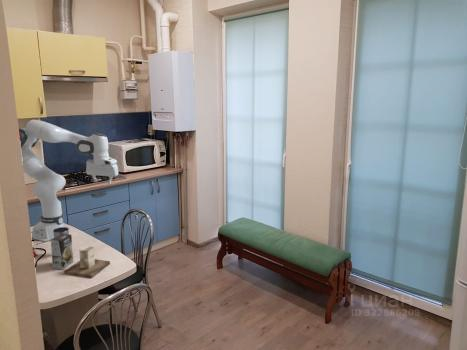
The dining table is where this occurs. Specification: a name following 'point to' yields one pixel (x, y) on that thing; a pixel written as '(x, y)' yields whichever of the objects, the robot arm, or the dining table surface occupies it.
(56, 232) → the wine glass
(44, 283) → the dining table surface
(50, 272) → the dining table surface
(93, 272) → the walnut board
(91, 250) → the maple block
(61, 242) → the coffee box
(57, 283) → the dining table surface
